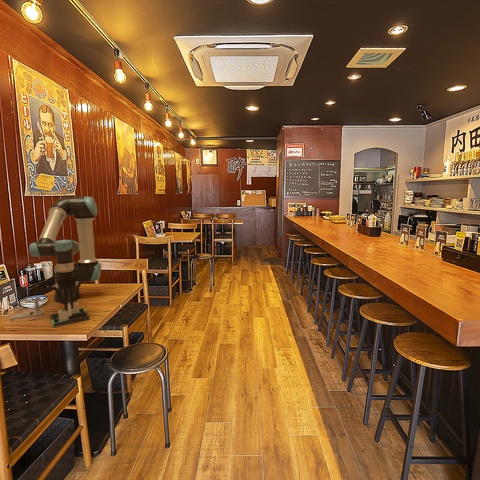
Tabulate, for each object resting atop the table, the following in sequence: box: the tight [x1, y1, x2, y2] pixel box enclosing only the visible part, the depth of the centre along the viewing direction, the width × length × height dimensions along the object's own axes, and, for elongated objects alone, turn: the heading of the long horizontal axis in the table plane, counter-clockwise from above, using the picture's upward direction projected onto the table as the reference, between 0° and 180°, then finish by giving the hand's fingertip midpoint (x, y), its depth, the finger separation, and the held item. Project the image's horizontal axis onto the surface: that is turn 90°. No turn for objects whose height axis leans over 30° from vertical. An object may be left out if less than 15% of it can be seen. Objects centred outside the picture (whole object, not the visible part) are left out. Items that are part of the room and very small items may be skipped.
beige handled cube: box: [57, 307, 70, 321], centre depth 156 cm, size 4×4×7 cm
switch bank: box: [49, 307, 90, 328], centre depth 161 cm, size 17×16×3 cm
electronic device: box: [10, 298, 45, 322], centre depth 164 cm, size 5×10×15 cm
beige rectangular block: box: [71, 301, 80, 314], centre depth 166 cm, size 4×4×7 cm
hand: (69, 315), depth 157 cm, fingers closed
